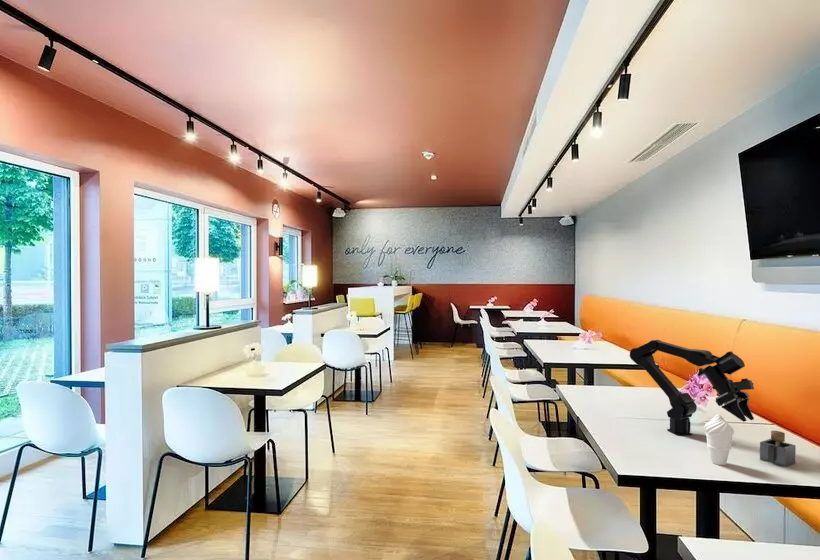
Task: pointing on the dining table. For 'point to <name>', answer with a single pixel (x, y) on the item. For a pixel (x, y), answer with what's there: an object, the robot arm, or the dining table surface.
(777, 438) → the plunger
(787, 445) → the box
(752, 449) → the dining table surface
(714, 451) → the soft serve ice cream cone
